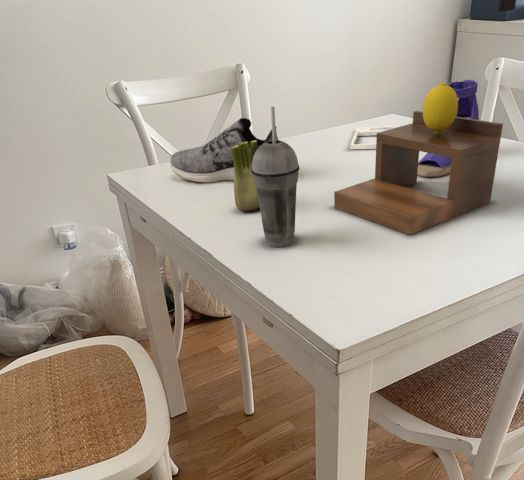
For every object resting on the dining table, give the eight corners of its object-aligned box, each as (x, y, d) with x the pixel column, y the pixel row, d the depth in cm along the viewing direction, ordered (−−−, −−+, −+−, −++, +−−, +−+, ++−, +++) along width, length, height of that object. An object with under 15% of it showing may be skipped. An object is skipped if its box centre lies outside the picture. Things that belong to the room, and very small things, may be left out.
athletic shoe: (184, 169, 125) (175, 114, 119) (293, 172, 117) (291, 113, 110) (165, 182, 118) (154, 124, 111) (280, 186, 110) (276, 124, 103)
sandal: (401, 173, 111) (406, 93, 102) (455, 150, 121) (464, 76, 112) (435, 180, 105) (444, 97, 97) (489, 156, 116) (501, 79, 107)
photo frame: (414, 124, 138) (413, 143, 124) (414, 129, 139) (413, 148, 125) (357, 126, 142) (350, 144, 128) (357, 130, 143) (350, 149, 128)
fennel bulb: (261, 202, 103) (255, 136, 96) (268, 210, 99) (263, 142, 92) (231, 207, 102) (224, 141, 95) (238, 216, 98) (231, 147, 91)
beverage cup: (254, 251, 84) (241, 115, 73) (260, 232, 90) (250, 104, 79) (300, 250, 83) (295, 112, 72) (304, 232, 89) (299, 101, 78)
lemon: (456, 137, 89) (462, 84, 84) (421, 139, 90) (425, 86, 85) (453, 129, 93) (459, 78, 89) (420, 131, 94) (424, 80, 90)
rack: (410, 181, 106) (416, 110, 99) (490, 202, 94) (503, 123, 86) (334, 207, 97) (333, 132, 90) (410, 235, 85) (417, 150, 77)
